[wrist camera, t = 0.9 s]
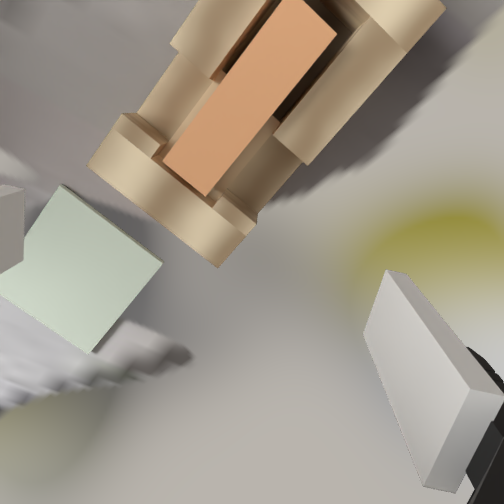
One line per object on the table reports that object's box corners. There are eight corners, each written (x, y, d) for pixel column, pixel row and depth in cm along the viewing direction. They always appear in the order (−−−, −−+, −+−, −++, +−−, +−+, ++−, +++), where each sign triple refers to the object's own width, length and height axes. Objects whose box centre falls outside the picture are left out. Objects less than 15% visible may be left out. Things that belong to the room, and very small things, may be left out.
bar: (174, 155, 33) (162, 161, 29) (288, 3, 29) (291, -12, 25) (212, 186, 34) (205, 196, 30) (328, 43, 30) (337, 34, 26)
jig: (116, 156, 37) (86, 165, 31) (294, -98, 30) (300, -149, 24) (225, 243, 40) (217, 268, 34) (413, 26, 33) (446, 8, 27)
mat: (-6, 286, 42) (-10, 288, 42) (62, 184, 38) (59, 185, 38) (90, 351, 45) (88, 354, 44) (164, 261, 41) (162, 263, 40)
